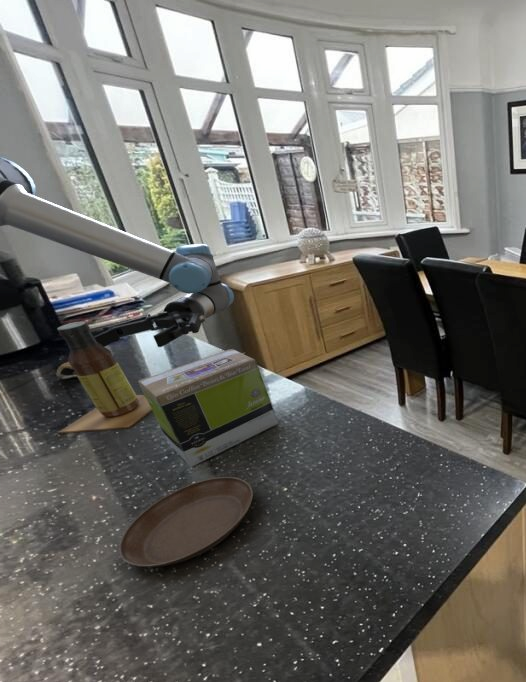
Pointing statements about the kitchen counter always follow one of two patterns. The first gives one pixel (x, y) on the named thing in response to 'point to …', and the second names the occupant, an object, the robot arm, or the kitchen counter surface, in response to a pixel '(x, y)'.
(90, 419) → the cork mat
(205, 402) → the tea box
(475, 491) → the kitchen counter surface
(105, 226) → the robot arm
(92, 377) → the sauce bottle
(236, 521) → the saucer
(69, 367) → the pastry
